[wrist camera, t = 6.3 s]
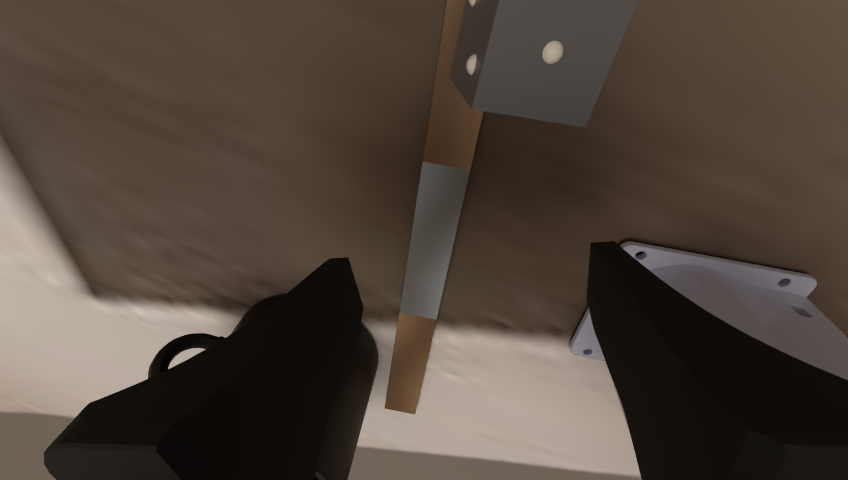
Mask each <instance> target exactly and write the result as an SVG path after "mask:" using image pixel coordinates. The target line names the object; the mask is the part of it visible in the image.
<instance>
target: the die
mask: <svg viewBox="0 0 848 480" xmlns="http://www.w3.org/2000/svg"><path fill="white" fill-rule="evenodd" d="M638 2H639V0H466V3H465V8H464V12H463V17H462V22H461V26H460V31H459V36H458V40H457V45H456V50H455V54H454V59H453V64H452V68H451V73H450V77H449V78H450V80H451V81H452V83H453V84H454V85H455V87H456V88H457V90H458V91H459V92H460V94H461V95H462V97H463V98H464V99H465V101H466V102H467V103H468V105H469V106H470V108H471V109H473V110H480V111H486V112H492V113H498V114H504V115H510V116H516V117H523V118H529V119H535V120H541V121H547V122H553V123H560V124H566V125H572V126H578V127H584V128H586V126H587V123H588V121H589V119H590V116H591V114H592V111H593V109H594V107H595V104H596V102H597V100H598V97H599V95H600V92H601V90H602V88H603V85H604V83H605V80H606V78H607V76H608V73H609V71H610V69H611V66H612V64H613V61H614V59H615V57H616V54H617V52H618V50H619V47H620V45H621V42H622V40H623V38H624V35H625V33H626V30H627V28H628V26H629V23H630V21H631V19H632V16H633V14H634V11H635V9H636V7H637V4H638Z"/></svg>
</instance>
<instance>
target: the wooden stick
mask: <svg viewBox="0 0 848 480" xmlns="http://www.w3.org/2000/svg"><path fill="white" fill-rule="evenodd" d="M465 3H466V0H447V5H446V12H445V18H444V25H443V31H442V38H441V44H440V51H439V57H438V64H437V70H436V77H435V84H434V90H433V97H432V103H431V110H430V116H429V123H428V129H427V136H426V142H425V149H424V155H423V162H422V168H421V175H420V182H419V188H418V195H417V201H416V208H415V214H414V221H413V227H412V234H411V240H410V247H409V253H408V260H407V266H406V273H405V280H404V286H403V293H402V299H401V306H400V312H399V319H398V325H397V332H396V338H395V345H394V351H393V358H392V364H391V371H390V378H389V384H388V391H387V397H386V404H385V409H390V410H396V411H401V412H406V413H411V414H415V412H416V408H417V403H418V399H419V395H420V390H421V386H422V381H423V377H424V372H425V368H426V364H427V359H428V355H429V350H430V346H431V342H432V337H433V333H434V328H435V324H436V319H437V315H438V311H439V306H440V302H441V297H442V293H443V289H444V284H445V280H446V275H447V271H448V266H449V262H450V258H451V253H452V249H453V244H454V240H455V236H456V231H457V227H458V222H459V218H460V213H461V209H462V205H463V200H464V196H465V191H466V187H467V183H468V178H469V174H470V169H471V165H472V161H473V156H474V152H475V147H476V143H477V138H478V134H479V130H480V125H481V121H482V116H483V112H484V111H480V110H473V109H471V108H470V106H469V105H468V103H467V102H466V101H465V99H464V98H463V97H462V95H461V94H460V92H459V91H458V90H457V88H456V87H455V85H454V84H453V83H452V81H451V80H450V78H449V77H450V73H451V68H452V64H453V59H454V54H455V50H456V45H457V40H458V36H459V31H460V26H461V22H462V17H463V12H464V8H465Z"/></svg>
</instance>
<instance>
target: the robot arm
mask: <svg viewBox="0 0 848 480" xmlns="http://www.w3.org/2000/svg"><path fill="white" fill-rule="evenodd" d="M640 251H643V253H642V254H641V255H638V256H636V255H635V254H636V253H638V252H640ZM782 279H784V280H783V281H781V280H782ZM779 281H780V282H779ZM816 285H817V281H816V280H815V279H814V278H813V277H812V276H811V275H808V274H803V273H798V272H793V271H787V270H782V269H777V268H771V267H766V266H761V265H755V264H750V263H745V262H739V261H734V260H729V259H723V258H718V257H712V256H707V255H702V254H696V253H691V252H686V251H680V250H675V249H670V248H664V247H659V246H654V245H648V244H643V243H637V242H625V243H623V244H621V245H620V246H619V245H618V244H617V243H615V242H614V241H612V242H595V243H591V246H590V260H589V274H588V289H587V302H588V309H587V311H586V313H585V315H584V317H583V319H582V321H581V323H580V325H579V326H578V328H577V330H576V332H575V334H574V336H573V338H572V340H571V342H570V345H569V348H570V351H571V353H572V354H574V355H577V356H582V357H588V358H593V359H598V360H603V361H606V364H607V366H608V369H609V372H610V374H611V377H612V379H613V382H614V386H615V389H616V392H617V395H618V398H619V401H620V404H621V407H622V410H623V413H624V416H625V419H626V422H627V425H628V428H629V431H630V435H631V438H632V442H633V446H634V450H635V454H636V458H637V462H638V466H639V470H640V474H641V478H642V480H848V337H847V336H846V335H844V334H843V333H842V332H841V331H840V330H839V329H838V328H837V327H836V326H835V325H834V324H833V323H832V322H831V321H830V320H829V319H828V318H827V317H826V316H825V315H824V314H823V313H822V312H821V311H820V310H819V309H818V308H817V307H816V306H815V305H814V304H813V303H812V302H811V301H810V300H809V299H808V298H807V296H808V295H809V294H810V293H811V292H812V291H813V290H814V289H815V287H816ZM362 312H363V304H362V301H361V298H360V294H359V291H358V288H357V285H356V281H355V278H354V275H353V272H352V268H351V265H350V262H349V259H348V258H332V259H329V260H327V261H326V262H325V263H323V264H322V265H321V266H320V267H318V268H317V269H316V270H315V271H313V272H312V273H311V274H310V275H309V276H308V277H306V278H305V279H304V280H303V281H302V282H300V283H299V284H298V285H297V286H296V287H294V288H293V289H292V290H291V291H290V292H288V293H287V294H286V295H285V296H284V297H282V298H281V299H280V300H278V301H277V302H276V303H275V304H273V305H272V306H271V307H269V308H268V309H267V310H265V311H264V312H263V313H261V314H260V315H259V316H258V317H256V318H255V319H253V320H252V321H251V322H249V323H248V324H246V325H245V326H243V327H242V328H240V329H239V330H237V331H236V332H234V333H233V334H231V335H230V336H228V337H226V338H225V339H223V340H222V341H220V342H218V343H217V344H215V345H213V346H211V347H209V348H208V349H206V350H204V351H202V352H201V353H199V354H197V355H195V356H193V357H192V358H190V359H188V360H186V361H184V362H182V363H180V364H178V365H176V366H174V367H172V368H170V369H168V370H166V371H164V372H162V373H160V374H158V375H156V376H154V377H151V378H149V379H147V380H145V381H143V382H140V383H138V384H136V385H133V386H131V387H128V388H126V389H124V390H121V391H119V392H116V393H114V394H111V395H109V396H106V397H104V398H101V399H99V400H96V401H94V402H91V403H89V404H88V405H87V406H86V407H85V408H84V409H83V410H82V411H81V412H80V413H79V415H78V416H77V417H76V418H75V419H74V420H73V421H72V422H71V423H70V424H69V425H68V426H67V428H66V429H65V430H64V431H63V432H62V433H61V434H60V435H59V436H58V437H57V438H56V439H55V440H54V442H53V443H52V444H51V445H50V446H49V447H48V448H47V450H46V451H45V452H44V464H45V466H46V468H47V469H48V471H49V473H50V474H51V475H52V476H53V477H54V478H55V479H56V480H314V478H315V473H316V469H317V464H318V460H319V455H320V451H321V446H322V442H323V438H324V434H325V430H326V426H327V422H328V418H329V414H330V411H331V408H332V404H333V401H334V398H335V395H336V393H337V390H338V387H339V385H340V382H341V379H342V377H343V374H344V371H345V368H346V366H347V363H348V360H349V358H350V355H351V352H352V349H353V346H354V344H355V341H356V338H357V335H358V331H359V326H360V322H361V317H362ZM585 349H588V350H585Z"/></svg>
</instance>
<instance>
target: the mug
mask: <svg viewBox="0 0 848 480" xmlns="http://www.w3.org/2000/svg"><path fill="white" fill-rule="evenodd" d="M282 297H284V296H282ZM282 297H276V298H272V299H268V300H266V301H263V302H261V303H259V304H257V305H256V306H254V307H252V308H251V309H250V310H249V311H247V313H246V314H245V315H244V316H243V318H242V319H241V321H240V322H239V323H238V325H237V326H236V328H235V329H234V331H233V332H232V333H231V334H233V333H234V332H236V331H237V330H239V329H240V328H242V327H243V326H245V325H246V324H248V323H249V322H251V321H252V320H253V319H255V318H256V317H258V316H259V315H260V314H261V313H263V312H264V311H265V310H267V309H268V308H269V307H271V306H272V305H273V304H275V303H276V302H277V301H278V300H280V299H281V298H282ZM223 339H225V338H224V337H222V336H220V337H216V336H213V335H209V334H204V333H197V334H188V335H184V336H181V337H179V338H176V339H174V340H172V341H171V342H169V343H168V344H167V345H165V346H164V347H163V348H162V349H161V350H160V351H159V352H158V353H157V355H156V356H155V358H154V359H153V361H152V363H151V365H150V367H149V372H148V379H149V378H151V377H154V376H156V375H158V374H160V373H162V372H164V371H166V370H168V366H169V364H170V362H171V361H172V359H173V358H174V357H175V356H176V355H178V354H179V353H180V352H182V351H184V350H187V349H190V348H203V349H208V348H209V347H211V346H213V345H215V344H217V343H218V342H220V341H222V340H223ZM377 364H378V361H377V353H376V349H375V346H374V343H373V341H372V339H371V337H370V336H369V334H368V333H367V331H366V330H365V329H364V328H363V327H362V326H361V325H360V326H359V331H358V335H357V338H356V341H355V344H354V346H353V349H352V352H351V355H350V358H349V360H348V363H347V366H346V368H345V371H344V374H343V377H342V379H341V382H340V385H339V387H338V390H337V393H336V395H335V398H334V401H333V404H332V408H331V411H330V414H329V418H328V422H327V426H326V430H325V434H324V438H323V442H322V446H321V451H320V455H319V460H318V464H317V469H316V473H315V478H314V480H347V479H348V475H349V472H350V468H351V464H352V461H353V457H354V453H355V449H356V446H357V442H358V438H359V434H360V431H361V427H362V423H363V419H364V416H365V412H366V408H367V404H368V401H369V397H370V393H371V389H372V386H373V382H374V378H375V374H376V370H377Z"/></svg>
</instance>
